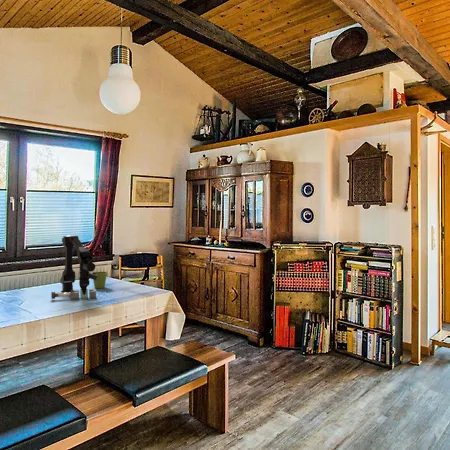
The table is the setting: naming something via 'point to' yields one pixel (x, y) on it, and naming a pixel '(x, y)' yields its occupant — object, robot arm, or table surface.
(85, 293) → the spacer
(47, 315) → the table surface
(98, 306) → the table surface
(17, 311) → the table surface
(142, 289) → the table surface
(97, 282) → the plant pot
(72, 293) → the cradle rig
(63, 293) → the shaft
